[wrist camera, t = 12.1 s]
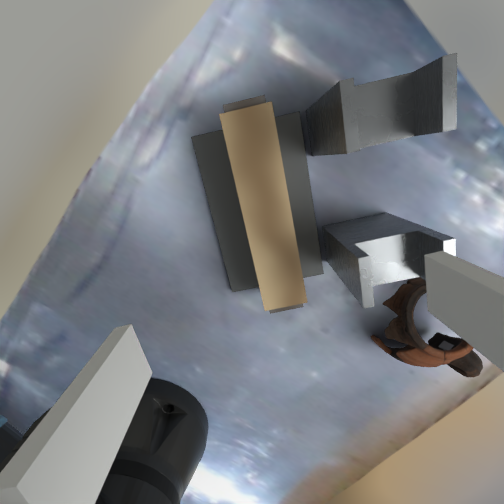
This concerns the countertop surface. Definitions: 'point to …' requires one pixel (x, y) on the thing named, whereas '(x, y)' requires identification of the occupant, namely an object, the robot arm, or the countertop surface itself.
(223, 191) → the mat
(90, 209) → the countertop surface
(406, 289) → the pottery mug
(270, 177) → the oak rail
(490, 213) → the countertop surface
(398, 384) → the countertop surface
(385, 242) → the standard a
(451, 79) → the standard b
